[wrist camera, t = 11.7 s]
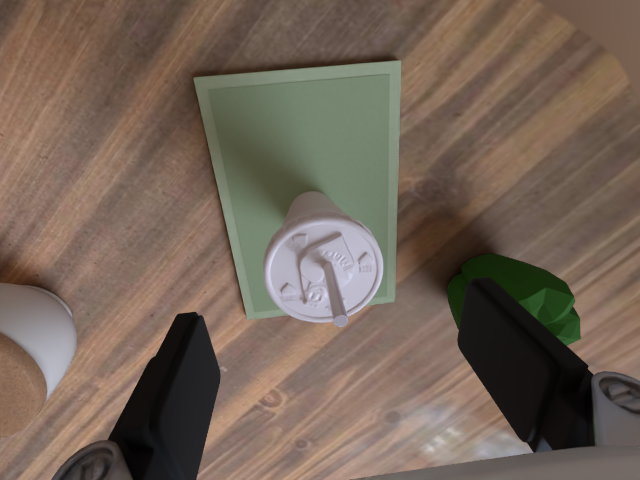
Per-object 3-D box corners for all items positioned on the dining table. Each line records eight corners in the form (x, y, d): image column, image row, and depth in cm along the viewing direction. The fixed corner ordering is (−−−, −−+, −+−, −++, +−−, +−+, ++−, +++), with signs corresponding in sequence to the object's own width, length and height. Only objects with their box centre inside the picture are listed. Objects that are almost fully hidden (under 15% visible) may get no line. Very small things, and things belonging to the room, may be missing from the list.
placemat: (194, 77, 20) (192, 77, 20) (399, 60, 21) (401, 59, 21) (247, 316, 29) (247, 320, 28) (393, 299, 29) (395, 302, 29)
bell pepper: (420, 268, 28) (483, 346, 19) (504, 225, 27) (612, 285, 18) (449, 328, 32) (514, 419, 22) (525, 292, 30) (625, 371, 21)
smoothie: (363, 189, 24) (446, 285, 11) (334, 258, 26) (375, 402, 14) (286, 161, 23) (281, 236, 10) (262, 236, 25) (232, 375, 12)
